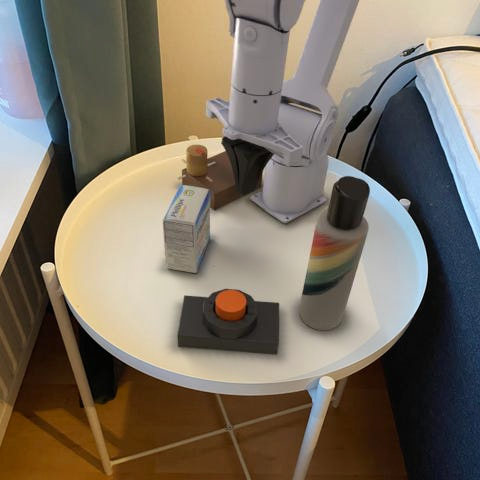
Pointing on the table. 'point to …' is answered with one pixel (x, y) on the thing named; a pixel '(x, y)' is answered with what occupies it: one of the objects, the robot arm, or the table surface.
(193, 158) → the dial
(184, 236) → the medicine box
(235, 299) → the button
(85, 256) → the table surface
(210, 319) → the switch base
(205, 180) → the dial panel
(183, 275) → the table surface
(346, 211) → the lotion bottle
